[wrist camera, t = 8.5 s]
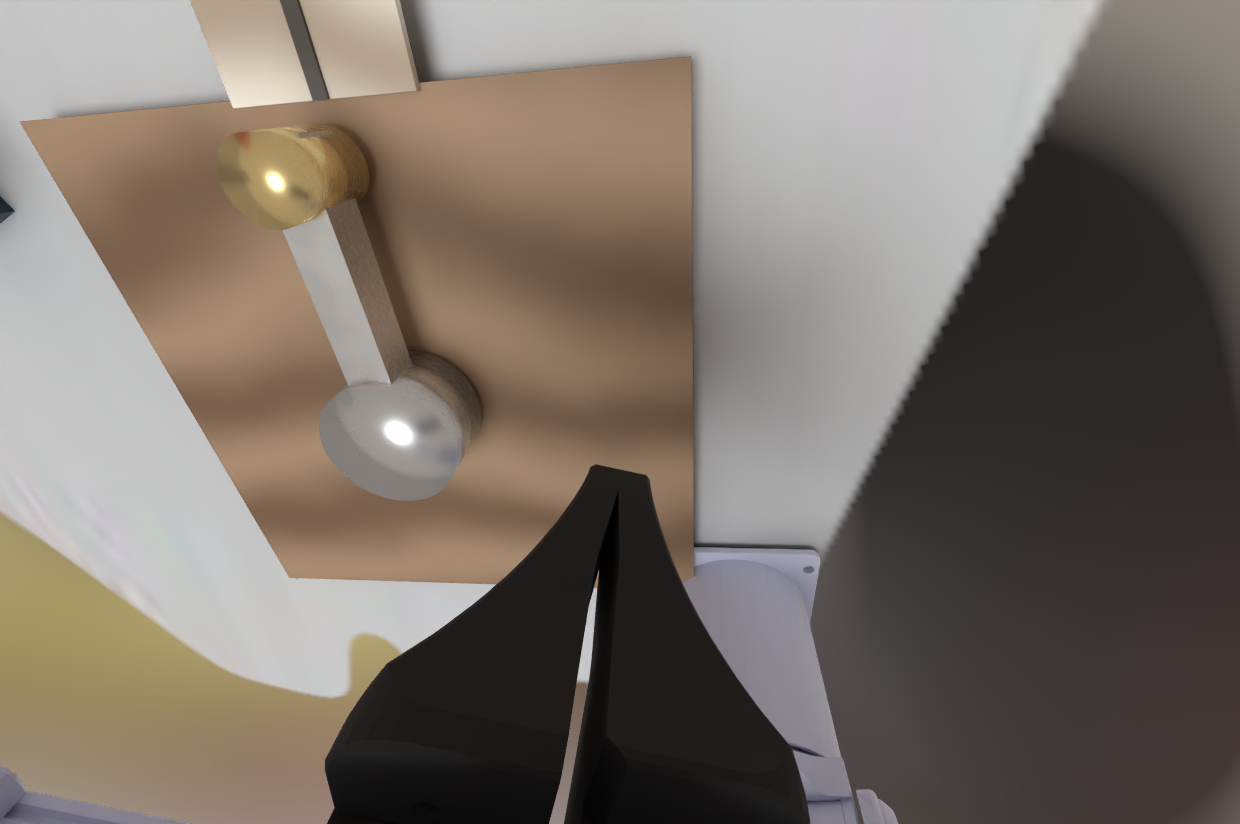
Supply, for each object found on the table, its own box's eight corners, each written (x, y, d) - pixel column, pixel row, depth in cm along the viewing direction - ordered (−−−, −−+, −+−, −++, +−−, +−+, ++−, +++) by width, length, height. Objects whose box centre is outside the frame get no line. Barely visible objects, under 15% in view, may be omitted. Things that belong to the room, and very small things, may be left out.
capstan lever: (494, 453, 22) (464, 510, 19) (386, 455, 23) (340, 511, 20) (398, 114, 16) (331, 120, 13) (252, 131, 17) (154, 142, 14)
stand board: (693, 571, 27) (694, 597, 26) (302, 560, 30) (284, 584, 28) (690, -68, 14) (690, -84, 13) (1, 20, 17) (-60, 14, 16)
